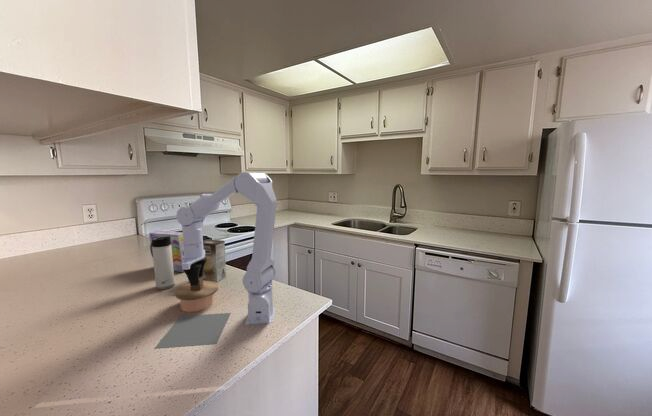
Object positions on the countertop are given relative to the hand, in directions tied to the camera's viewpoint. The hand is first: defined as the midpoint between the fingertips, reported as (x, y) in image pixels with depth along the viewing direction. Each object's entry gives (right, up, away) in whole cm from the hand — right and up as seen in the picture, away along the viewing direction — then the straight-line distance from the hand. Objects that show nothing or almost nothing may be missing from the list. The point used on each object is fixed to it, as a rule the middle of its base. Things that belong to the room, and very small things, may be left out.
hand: (196, 282), depth 87 cm
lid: (0, -3, 0) cm, 3 cm away
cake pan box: (-29, -4, +35) cm, 45 cm away
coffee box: (-5, -5, +23) cm, 24 cm away
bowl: (0, -8, +1) cm, 8 cm away
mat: (+7, -10, -13) cm, 18 cm away
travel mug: (-20, -6, +16) cm, 26 cm away
